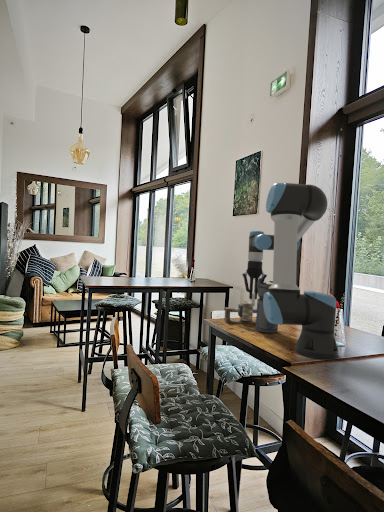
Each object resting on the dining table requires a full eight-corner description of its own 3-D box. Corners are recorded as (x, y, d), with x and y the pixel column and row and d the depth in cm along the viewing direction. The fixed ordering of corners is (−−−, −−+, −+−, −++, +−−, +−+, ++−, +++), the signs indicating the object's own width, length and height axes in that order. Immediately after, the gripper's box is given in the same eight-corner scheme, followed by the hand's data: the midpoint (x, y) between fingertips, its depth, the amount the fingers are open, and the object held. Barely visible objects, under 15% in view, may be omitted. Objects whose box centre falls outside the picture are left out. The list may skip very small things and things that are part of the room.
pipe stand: (264, 321, 184) (265, 308, 184) (268, 324, 177) (269, 311, 177) (224, 319, 183) (224, 306, 183) (226, 322, 176) (226, 309, 176)
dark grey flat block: (240, 314, 183) (240, 304, 183) (242, 317, 177) (242, 306, 177) (237, 314, 183) (238, 304, 183) (239, 316, 177) (240, 306, 177)
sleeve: (248, 317, 185) (249, 301, 184) (252, 320, 176) (253, 304, 176) (239, 317, 184) (240, 301, 184) (242, 320, 176) (243, 303, 176)
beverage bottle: (285, 334, 158) (289, 280, 157) (257, 333, 157) (260, 279, 156) (278, 329, 168) (281, 278, 168) (251, 328, 167) (254, 277, 166)
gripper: (265, 261, 184) (263, 304, 184) (241, 259, 183) (239, 303, 184) (269, 261, 176) (266, 307, 177) (244, 260, 176) (241, 306, 176)
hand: (252, 305), depth 180 cm, fingers closed
